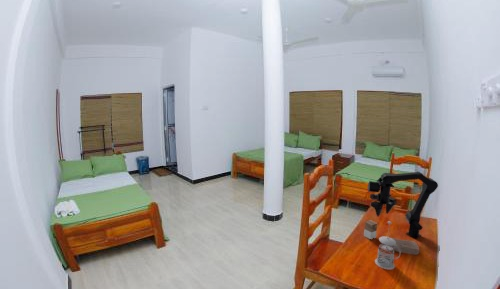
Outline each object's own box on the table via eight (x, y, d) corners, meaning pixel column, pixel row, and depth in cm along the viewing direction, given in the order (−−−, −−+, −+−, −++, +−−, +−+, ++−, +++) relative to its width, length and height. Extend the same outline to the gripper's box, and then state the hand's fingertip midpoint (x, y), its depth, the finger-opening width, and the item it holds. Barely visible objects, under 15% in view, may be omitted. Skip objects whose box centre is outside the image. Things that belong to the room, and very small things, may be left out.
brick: (386, 250, 154) (387, 243, 154) (384, 242, 162) (385, 236, 161) (418, 256, 149) (419, 249, 148) (415, 248, 157) (416, 241, 156)
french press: (377, 255, 149) (381, 215, 144) (400, 264, 142) (405, 221, 137) (372, 264, 142) (377, 222, 137) (396, 273, 134) (402, 229, 129)
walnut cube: (369, 226, 171) (370, 219, 170) (376, 230, 167) (377, 223, 166) (364, 228, 169) (365, 221, 168) (371, 232, 164) (372, 225, 163)
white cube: (369, 233, 172) (369, 227, 171) (375, 237, 168) (376, 230, 167) (363, 235, 170) (364, 228, 169) (370, 239, 165) (371, 232, 164)
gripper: (383, 186, 181) (380, 207, 184) (364, 191, 172) (362, 212, 175) (398, 191, 171) (395, 213, 174) (379, 196, 162) (377, 220, 166)
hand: (382, 214), depth 173 cm, fingers open, 9 cm apart
